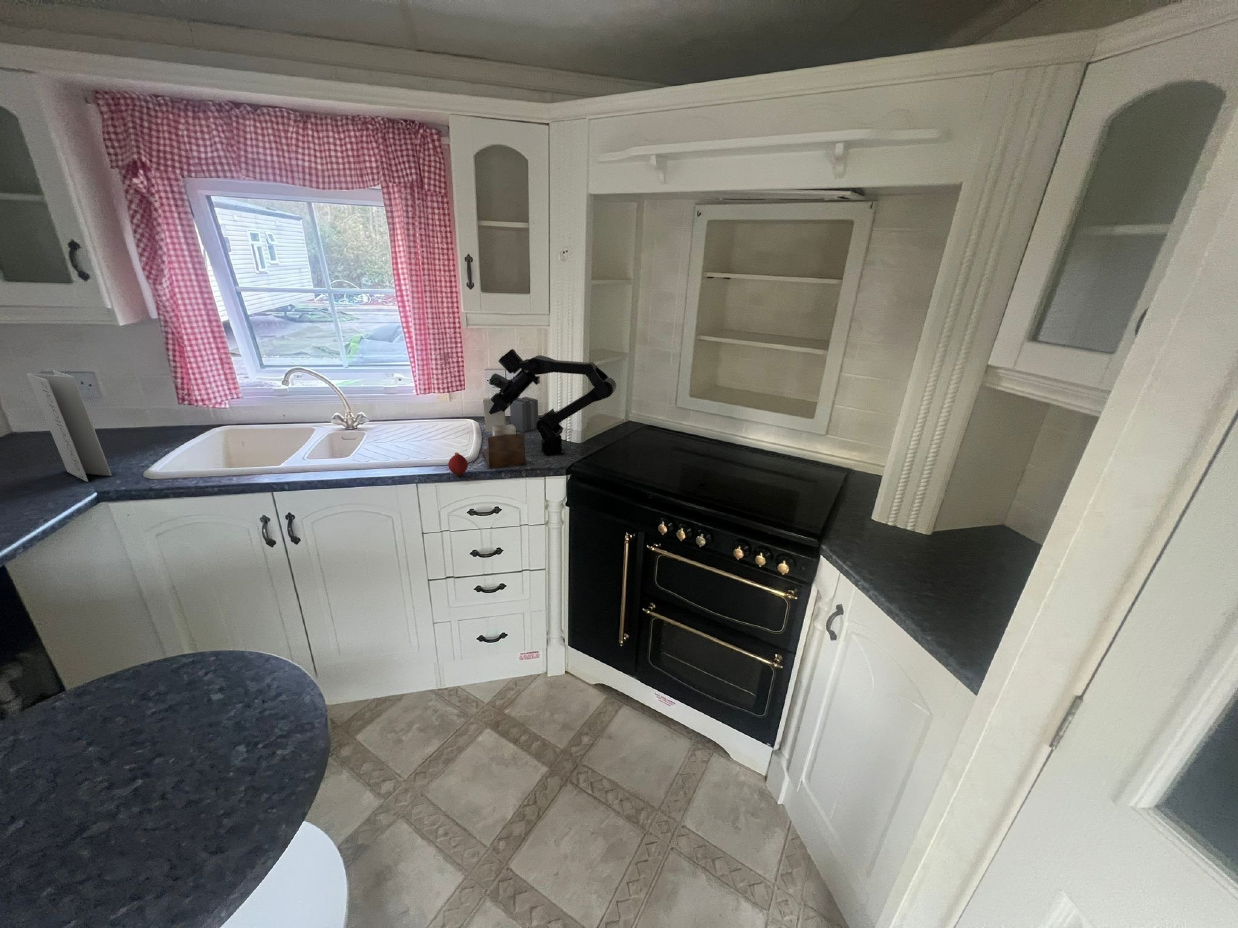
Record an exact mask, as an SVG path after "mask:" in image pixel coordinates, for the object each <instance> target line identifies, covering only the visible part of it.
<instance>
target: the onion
mask: <svg viewBox="0 0 1238 928" xmlns="http://www.w3.org/2000/svg"><path fill="white" fill-rule="evenodd" d="M468 467H469V462H468V460H467V458H466V457H465V456H464V455H462V454H460V453H459V452H457V451H456V452H454V455H453V456H451V457H450V459H449V461H448V469H449V470H450V472H451V473H453V474H454V475H456V476H457V477H461V476H462V475H463V474H464V473H466V471H467V470H468Z"/></svg>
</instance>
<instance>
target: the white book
mask: <svg viewBox="0 0 1238 928" xmlns="http://www.w3.org/2000/svg"><path fill="white" fill-rule="evenodd" d="M491 398H492V397H488V398H487V397H485V398H483V400H482V401H483V402H482V403H483V415H484V428H485V432H486V433H493V429H492V426H499V425H507V423H506V422H507V421H506V410H505V411H504V412H503V411H499V412H496V413H494V414H490V413H489V411H490V409H491V408H492V406H493V404H494V403H493V402H492V401H491Z"/></svg>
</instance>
